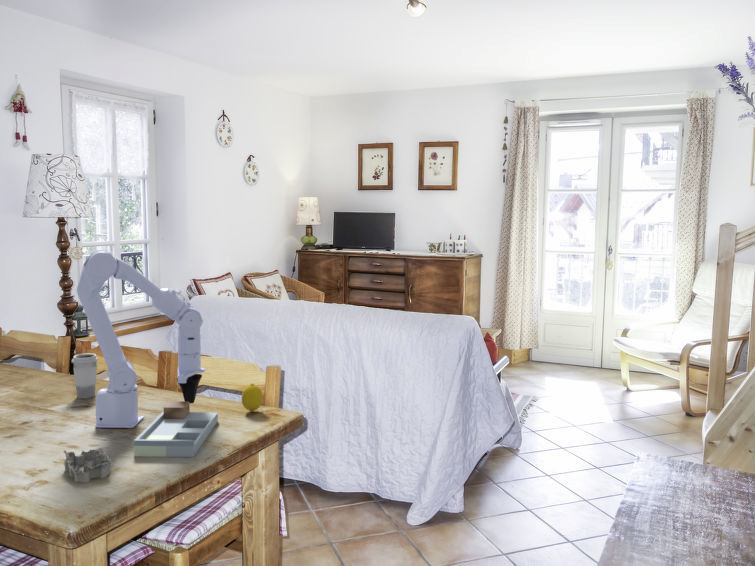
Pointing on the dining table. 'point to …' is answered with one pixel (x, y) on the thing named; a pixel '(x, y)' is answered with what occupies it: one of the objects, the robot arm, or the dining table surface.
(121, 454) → the dining table surface
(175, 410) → the walnut block
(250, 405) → the lemon
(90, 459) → the grey toy castle
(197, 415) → the trap tray
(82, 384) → the cup
